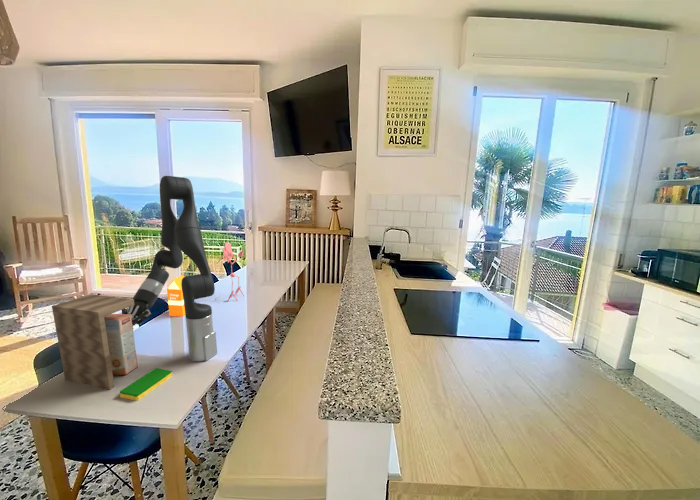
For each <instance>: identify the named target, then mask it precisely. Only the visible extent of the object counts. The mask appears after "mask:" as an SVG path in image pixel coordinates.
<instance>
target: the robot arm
mask: <svg viewBox="0 0 700 500" xmlns="http://www.w3.org/2000/svg"><path fill="white" fill-rule="evenodd" d="M193 188H194V187H193V185H192V182H191V180H190V179H189V178H187V177H181V176H173V175H163V176H162V177H161V179H160V181H159V200H160V201H159V202H160V203H159V204H160V213H161V237H160V244H161V245H162V246H163V247H165V248H166V249H160V250H158V251H157V252H156V253H155V255H154V259H153V262H152V266H151V269H150V272H149V273H148V275H147V277H145V279H144V280H143V282H142V283H141V285H140V286H139V288H138V289H137V291H136V292H135V294H134V296H133V297H132V299H133V300H134V304H135V305H133V306H131V307H128V308H125V309H123V310H121V314H130V315H131V316H132V324H133V327H134V326H136V325H140V324H141V323H143V322H144V321H146V320H147V319H149V317H151V316H152V314H153V313H151V311H150V309H151V307H153V306H154V304H155V302H156V301H157V299H158V297H160V294H161V292H162V290H163V288H164V286H165V284H166V282H167V281H168V279H169V277H170V273H169V272H168V271H167V270H165V269H163V267H166V268H171V269H179V268H180V267H181V265H183V262H184V255H183V253H184V254H185V255H186V256H187V257H188V258H189V259H190V260H191V261H192V262H193V263H194V264H195V267H196V268H197V269H198V272H199V274H198V273H197V274H192V275H187V276H184V277H183V279H182V282H181V286H182V293H183V299H184V307H185V315H184V317H185V323H186V324H185V327H186V336H187V347H188V356H189V357H188V358H189V360H191V361H192V362H204V361H206V362H207V361H209V360H210V359H211V358H213V357H214V356H215V355H217V354H218V346H217V333H216V330H214V324H213V311H212V306H211V305H209V304H205V303H199V302H196V301H195V300H198V299H203V298H208V297H212V296H213V295H215V288H216V287H215V282H214V278H213V275H212V272H211V269H210V266H209V265H210V264H209V262H208V259H207V255H206V254H207V253H206V250H205V246H204V239H203V235H202V231H201V226H200V223H199V219H198V215H197V210H196V203H195V196H194V195H195V194H194V189H193ZM171 200H178V201H179V200H180V201H182V203H183V209H182V212H181V215H180V216H179V217H178V219H177V217H176V215H175V214H174V212H173V209H172V206H171ZM167 249H168V250H167Z"/></svg>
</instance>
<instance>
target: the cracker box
mask: <svg viewBox="0 0 700 500" xmlns="http://www.w3.org/2000/svg"><path fill="white" fill-rule="evenodd" d="M104 320H105V327H106V333H107V340H108V347H109V354H110V360H111V367H112V374H113V375H119V376H126V375H128V374H129V373H131V372H132V371H134V370H136V368H138V357H137V350H136V349H137V348H136V341H135V333H134V326H133V324H132V316H131V315H130V314H122V313H112V314H109V315H107V316H104Z"/></svg>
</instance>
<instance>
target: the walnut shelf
mask: <svg viewBox="0 0 700 500" xmlns="http://www.w3.org/2000/svg"><path fill="white" fill-rule="evenodd" d="M133 305H135V304H134V300H133V298H122V297H116V296H115V297H114V296H107V295H98V294H91V293H90V294H88V295H84V296H81V297H80V296H79V297H78V298H73V299H71V300H66V301H64V302H60V303H57V304H53V305H51V309H52V314H53V316H52V317H53V321H54V326H55V332H56V337H57V344H58V348H59V354H60V360H61V365H62V369H63V370H62V371H63V377H64V380H65V381H68V382H72V383H77V384H82V385H86V386H91V387H95V388H101V389H104V390H105V389H106V390H108V391H109V390H112V389H114V388H115V381H114V374H112V367H111V360H110V354H109V347H108V340H107V333H106V327H105V320H104V316H107V315H109V314H116V313H117V312H119V311H122V310H123V309H126V308H128V307H131V306H133Z"/></svg>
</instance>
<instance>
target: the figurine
mask: <svg viewBox="0 0 700 500" xmlns="http://www.w3.org/2000/svg"><path fill="white" fill-rule="evenodd" d="M232 249H233V248H232V242H230V243H228V242H227V241H226V242H225V243H224V247H222V248H221V250H222V255H221V256H220V258H219V260H217V262H216V264H218V263H219V262H220V261H221V260H222V259H223V261H224V262H226V261H227V263H228V264H229V263H230V269H231V271H230V274H229V276H230V278H231V288H233V287H234V286H233V284H234V282H233V278H234V277H236V278H238V280H237V283H238V284H240V276H239V275H238V276H237V275H236V274H235V272H233V265H234V264H235V263H237V262H240V263H242V261H243V255H244V254H245V250H244V249H243V250H240V251H239V253H238V255H237V256H238V258H240V260H236V258H235V256H234V252H233V250H232ZM231 257H232V258H233V260H234V261H233V262H232V260H231ZM239 291H240V293H241V294H242V296H244V292H243V291H242V290H241V286H240V285H239V286H237V288H236V290H235V291H234V290H231V293H230V294H229V297H228V299H227V302H229V300H230V299H231V298H232V296H234V299H236V301H238V298H237V297H236V295H237V294H238V292H239ZM234 292H235V293H234ZM235 294H236V295H235ZM223 296H224V294H223V295H221V297H223ZM218 298H220V296H219V297H217V299H218Z"/></svg>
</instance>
